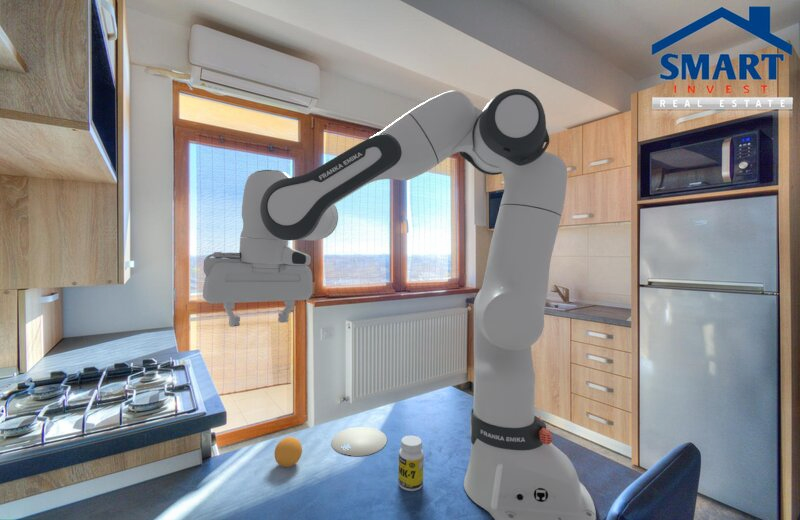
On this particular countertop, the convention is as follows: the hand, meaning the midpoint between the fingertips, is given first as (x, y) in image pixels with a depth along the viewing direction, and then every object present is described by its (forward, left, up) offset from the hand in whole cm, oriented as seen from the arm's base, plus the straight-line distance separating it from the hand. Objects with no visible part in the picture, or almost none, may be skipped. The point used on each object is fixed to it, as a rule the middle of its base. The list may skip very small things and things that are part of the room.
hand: (259, 323), depth 69 cm
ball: (-4, -5, -27) cm, 28 cm away
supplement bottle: (-30, -6, -30) cm, 43 cm away
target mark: (-14, -18, -30) cm, 38 cm away
